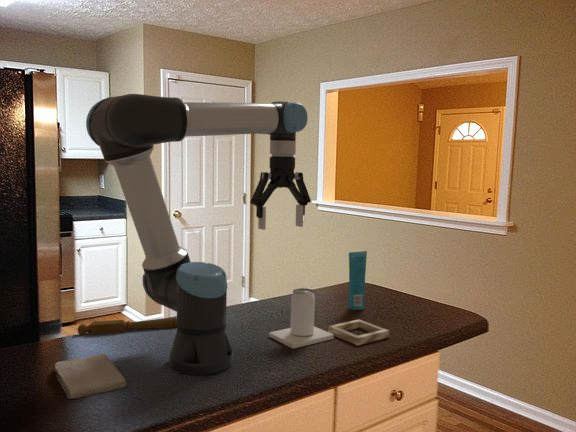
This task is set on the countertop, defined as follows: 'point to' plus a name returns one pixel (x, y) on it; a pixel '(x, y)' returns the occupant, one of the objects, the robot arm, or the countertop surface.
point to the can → (302, 312)
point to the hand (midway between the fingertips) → (281, 227)
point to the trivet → (297, 341)
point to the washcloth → (88, 376)
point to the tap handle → (125, 326)
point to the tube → (357, 279)
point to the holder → (374, 335)
